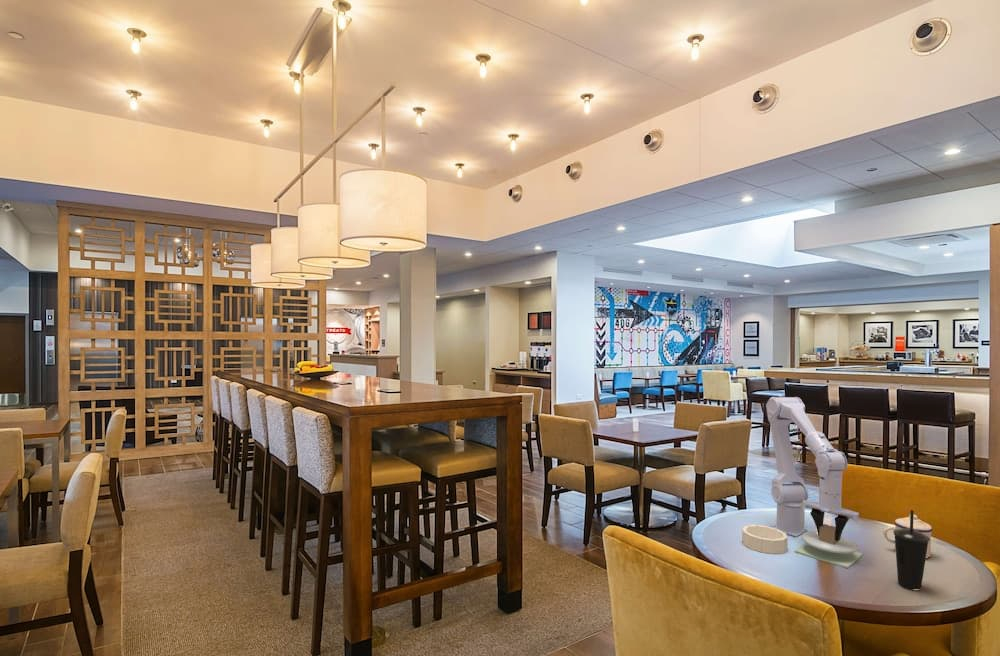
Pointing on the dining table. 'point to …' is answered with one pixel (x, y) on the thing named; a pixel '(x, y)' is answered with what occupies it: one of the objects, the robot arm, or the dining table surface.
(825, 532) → the cover
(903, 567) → the drinking cup
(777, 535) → the bowl
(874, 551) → the dining table surface
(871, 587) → the dining table surface
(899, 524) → the teacup with lid
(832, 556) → the mat
